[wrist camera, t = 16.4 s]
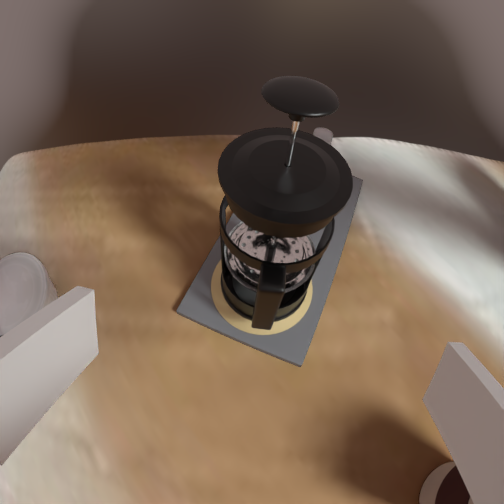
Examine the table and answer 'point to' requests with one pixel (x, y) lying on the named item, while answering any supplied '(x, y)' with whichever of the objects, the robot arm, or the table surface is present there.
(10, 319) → the ramekin
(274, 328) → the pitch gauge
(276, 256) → the french press
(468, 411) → the robot arm
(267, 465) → the table surface
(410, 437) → the table surface
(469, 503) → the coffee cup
